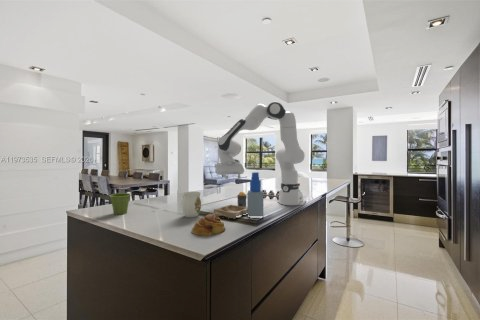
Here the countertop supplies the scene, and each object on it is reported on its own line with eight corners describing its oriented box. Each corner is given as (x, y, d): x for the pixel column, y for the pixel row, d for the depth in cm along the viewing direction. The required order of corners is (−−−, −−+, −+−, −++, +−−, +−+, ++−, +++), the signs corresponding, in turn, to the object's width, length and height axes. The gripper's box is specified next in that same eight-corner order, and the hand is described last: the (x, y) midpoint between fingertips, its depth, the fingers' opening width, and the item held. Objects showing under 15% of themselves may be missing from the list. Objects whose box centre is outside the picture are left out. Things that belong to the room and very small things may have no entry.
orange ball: (241, 197, 157) (241, 191, 157) (246, 197, 155) (246, 191, 155) (237, 198, 154) (237, 191, 154) (242, 198, 152) (242, 192, 152)
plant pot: (117, 216, 138) (116, 197, 138) (105, 214, 144) (104, 195, 144) (135, 212, 148) (135, 194, 148) (124, 210, 154) (123, 192, 154)
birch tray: (230, 210, 152) (230, 204, 152) (250, 213, 143) (250, 207, 143) (214, 215, 140) (213, 209, 140) (234, 219, 131) (234, 213, 131)
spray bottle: (262, 214, 141) (262, 171, 140) (264, 219, 132) (263, 173, 131) (247, 214, 141) (247, 171, 140) (247, 219, 132) (247, 173, 131)
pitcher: (207, 212, 147) (207, 189, 147) (193, 220, 130) (193, 194, 129) (191, 211, 150) (191, 189, 150) (175, 218, 133) (175, 193, 133)
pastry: (230, 230, 114) (230, 213, 114) (204, 238, 103) (203, 220, 103) (212, 224, 123) (212, 208, 123) (187, 231, 113) (186, 214, 112)
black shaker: (241, 207, 159) (241, 194, 158) (247, 209, 155) (247, 195, 155) (235, 209, 154) (235, 195, 154) (242, 210, 151) (242, 196, 151)
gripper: (215, 160, 167) (220, 175, 159) (241, 160, 176) (247, 174, 168) (212, 166, 171) (217, 181, 163) (239, 166, 180) (244, 180, 172)
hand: (233, 178), depth 165 cm, fingers open, 8 cm apart
